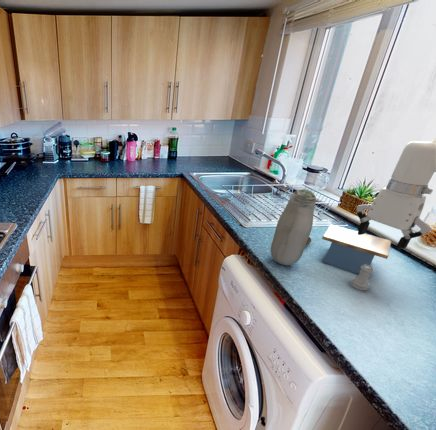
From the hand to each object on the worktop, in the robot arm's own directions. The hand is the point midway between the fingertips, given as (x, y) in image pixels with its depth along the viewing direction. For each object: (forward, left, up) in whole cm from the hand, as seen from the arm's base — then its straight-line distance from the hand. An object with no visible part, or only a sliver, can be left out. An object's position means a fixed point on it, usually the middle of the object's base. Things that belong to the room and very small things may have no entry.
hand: (379, 241), depth 86 cm
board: (+10, -12, -8) cm, 18 cm away
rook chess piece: (0, 0, -17) cm, 17 cm away
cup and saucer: (+29, -9, -17) cm, 35 cm away
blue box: (+10, -12, -17) cm, 23 cm away
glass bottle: (+20, +10, -17) cm, 28 cm away
